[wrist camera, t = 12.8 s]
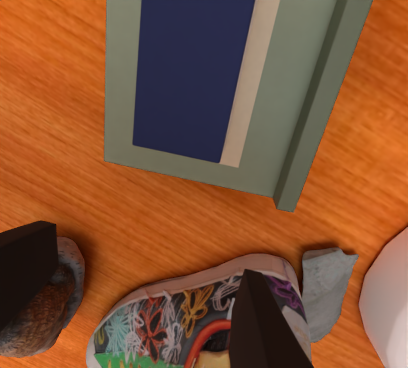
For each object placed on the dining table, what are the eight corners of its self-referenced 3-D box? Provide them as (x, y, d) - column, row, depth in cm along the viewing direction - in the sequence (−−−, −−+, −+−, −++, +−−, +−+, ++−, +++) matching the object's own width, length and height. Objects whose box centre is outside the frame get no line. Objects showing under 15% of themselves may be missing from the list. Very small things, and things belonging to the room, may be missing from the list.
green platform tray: (124, 151, 18) (89, 168, 14) (136, -100, 12) (86, -197, 8) (279, 184, 17) (293, 213, 13) (362, -65, 12) (430, -151, 8)
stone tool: (280, 339, 21) (325, 326, 23) (292, 358, 20) (339, 342, 21) (297, 242, 18) (348, 233, 19) (312, 255, 16) (367, 245, 18)
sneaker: (83, 310, 25) (-4, 434, 16) (265, 224, 19) (296, 346, 10) (127, 355, 27) (72, 489, 17) (307, 290, 20) (366, 446, 11)
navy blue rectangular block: (225, 147, 14) (220, 169, 10) (159, 133, 14) (128, 149, 10) (268, -52, 10) (289, -142, 6) (180, -66, 10) (146, -162, 6)
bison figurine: (87, 320, 25) (1, 450, 16) (26, 297, 25) (-95, 415, 16) (105, 234, 21) (0, 348, 12) (31, 206, 21) (-134, 298, 12)
